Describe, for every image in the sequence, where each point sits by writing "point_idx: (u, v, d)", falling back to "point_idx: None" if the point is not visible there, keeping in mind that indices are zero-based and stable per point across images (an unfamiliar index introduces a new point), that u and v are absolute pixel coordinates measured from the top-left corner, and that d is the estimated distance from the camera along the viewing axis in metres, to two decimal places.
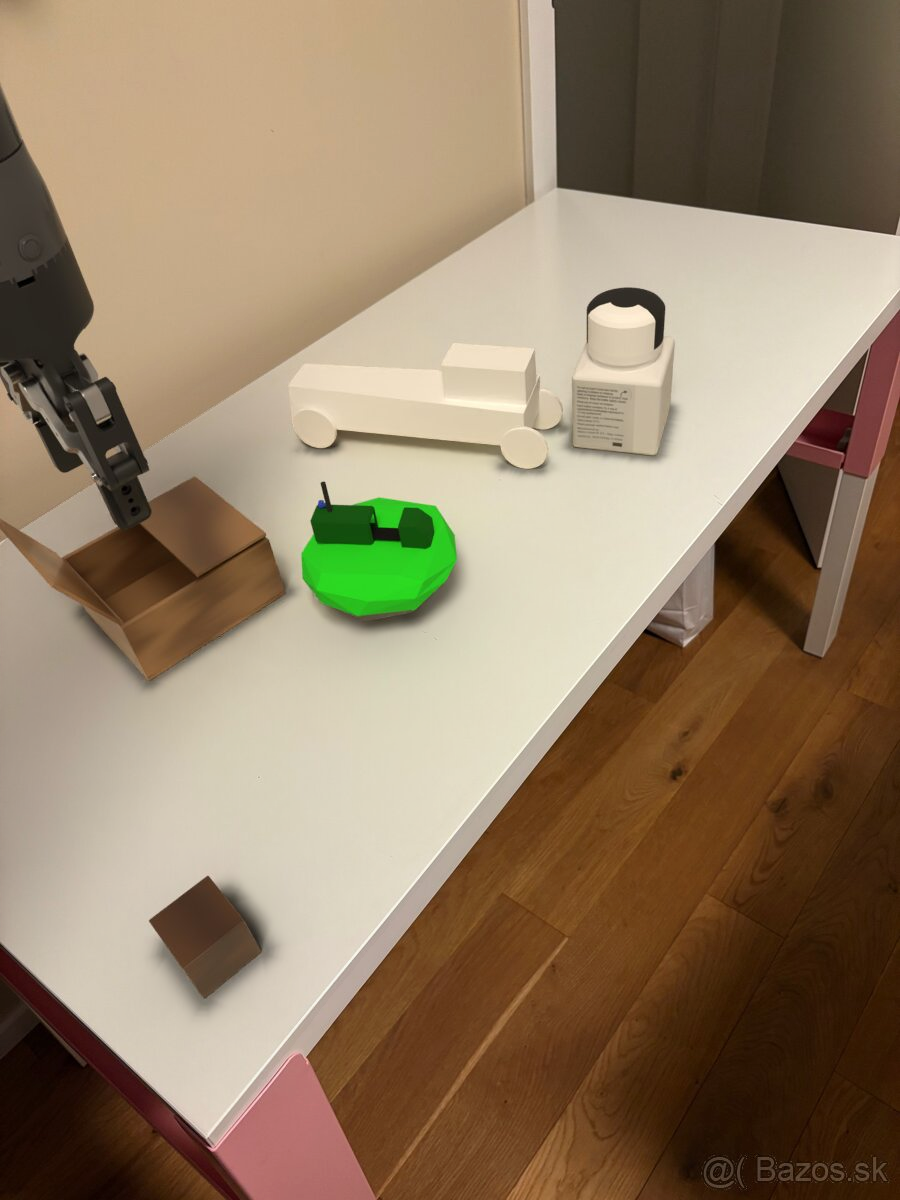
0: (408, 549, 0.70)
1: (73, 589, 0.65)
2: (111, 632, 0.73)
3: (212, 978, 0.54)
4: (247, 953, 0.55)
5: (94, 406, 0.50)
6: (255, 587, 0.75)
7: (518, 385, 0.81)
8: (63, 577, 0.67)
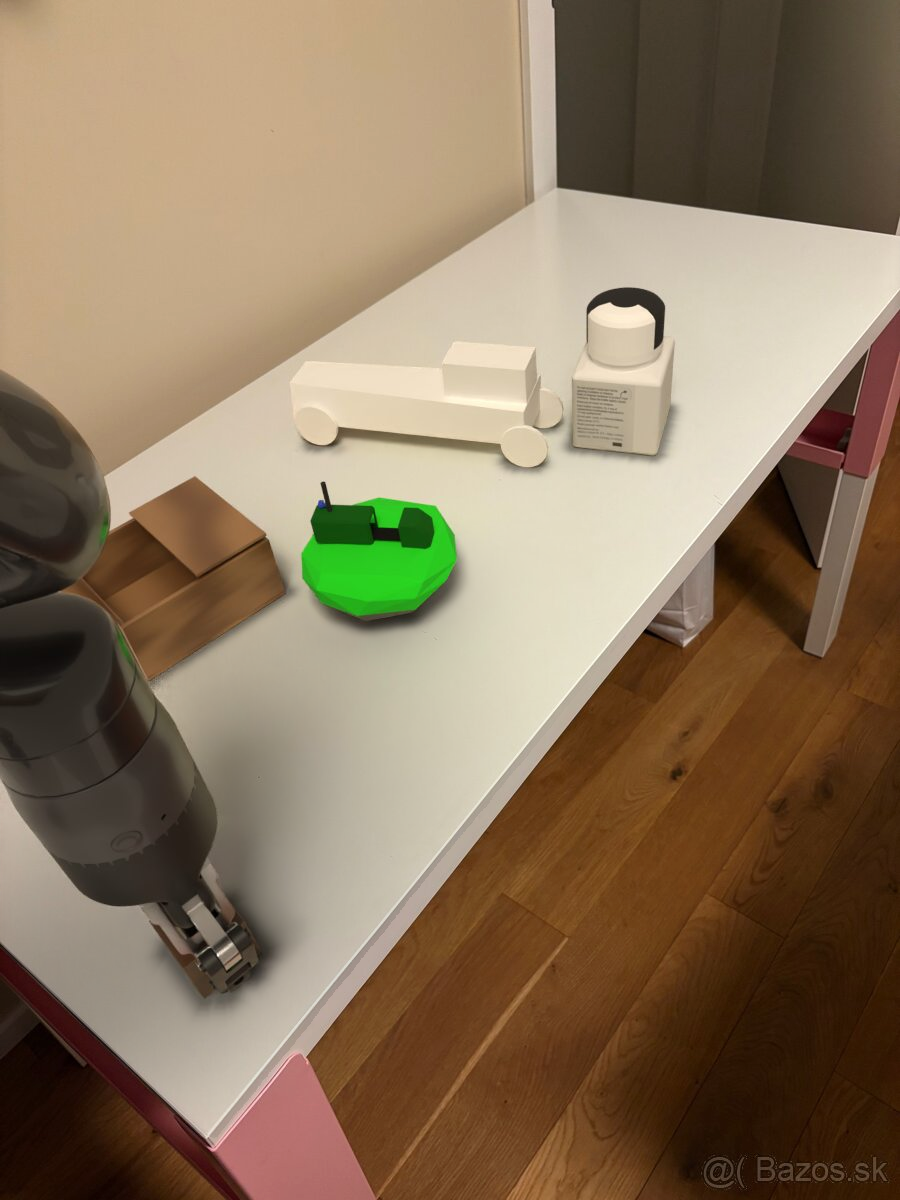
0: (408, 549, 0.70)
1: (73, 589, 0.65)
2: None
3: None
4: None
5: None
6: (255, 587, 0.75)
7: (519, 383, 0.81)
8: None
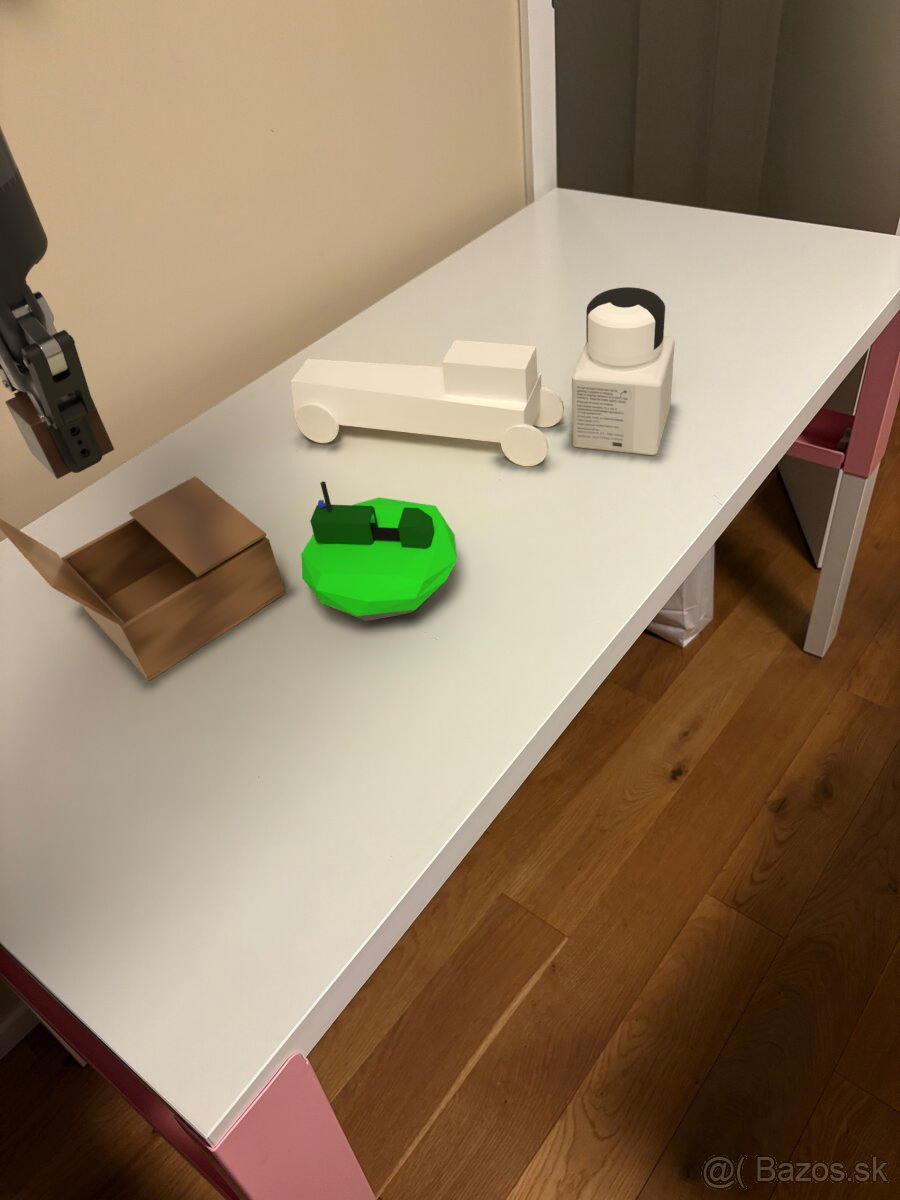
0: (408, 549, 0.70)
1: (73, 589, 0.65)
2: (111, 632, 0.73)
3: None
4: (99, 442, 0.59)
5: None
6: (255, 587, 0.75)
7: (519, 382, 0.81)
8: (63, 577, 0.67)
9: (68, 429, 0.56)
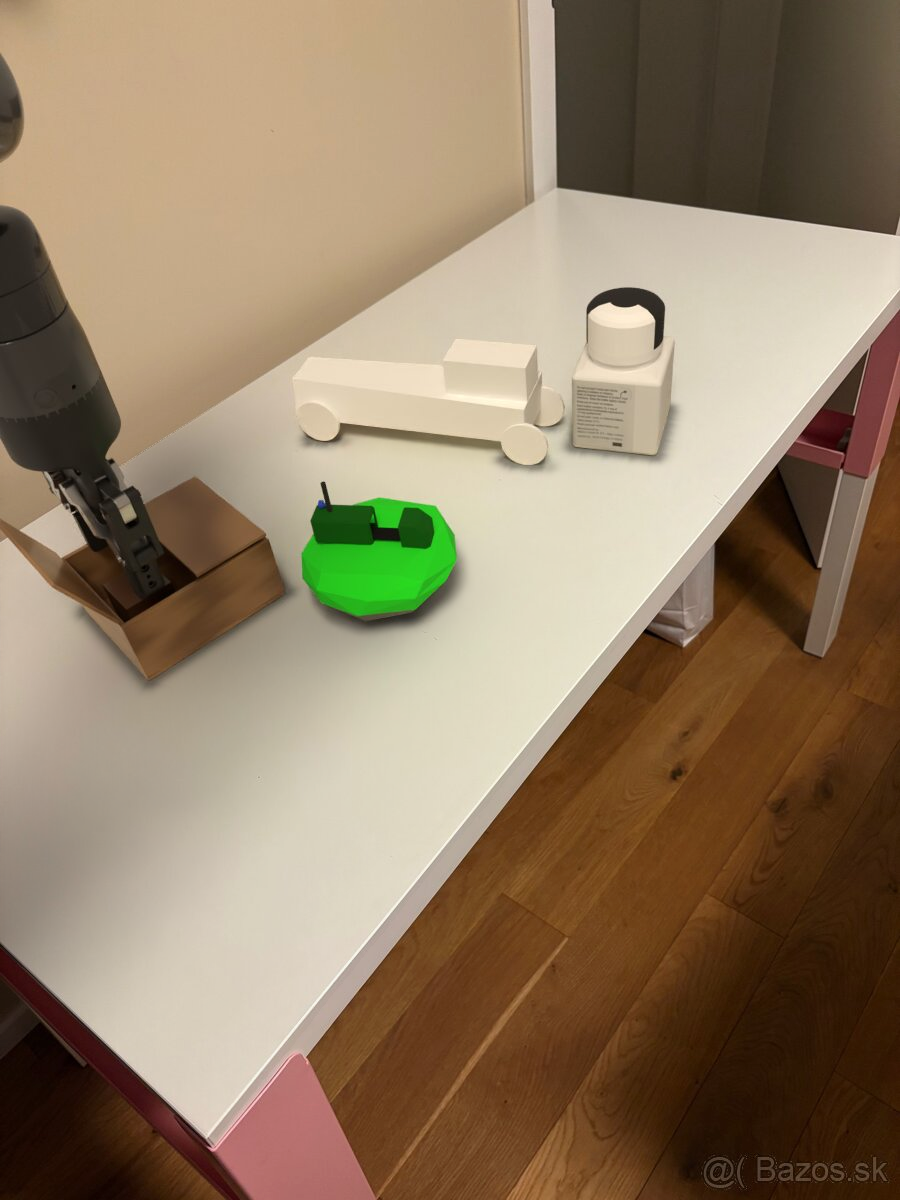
0: (408, 549, 0.70)
1: (73, 589, 0.65)
2: (111, 632, 0.73)
3: None
4: None
5: None
6: (255, 587, 0.75)
7: (519, 381, 0.82)
8: (63, 577, 0.67)
9: (140, 567, 0.67)
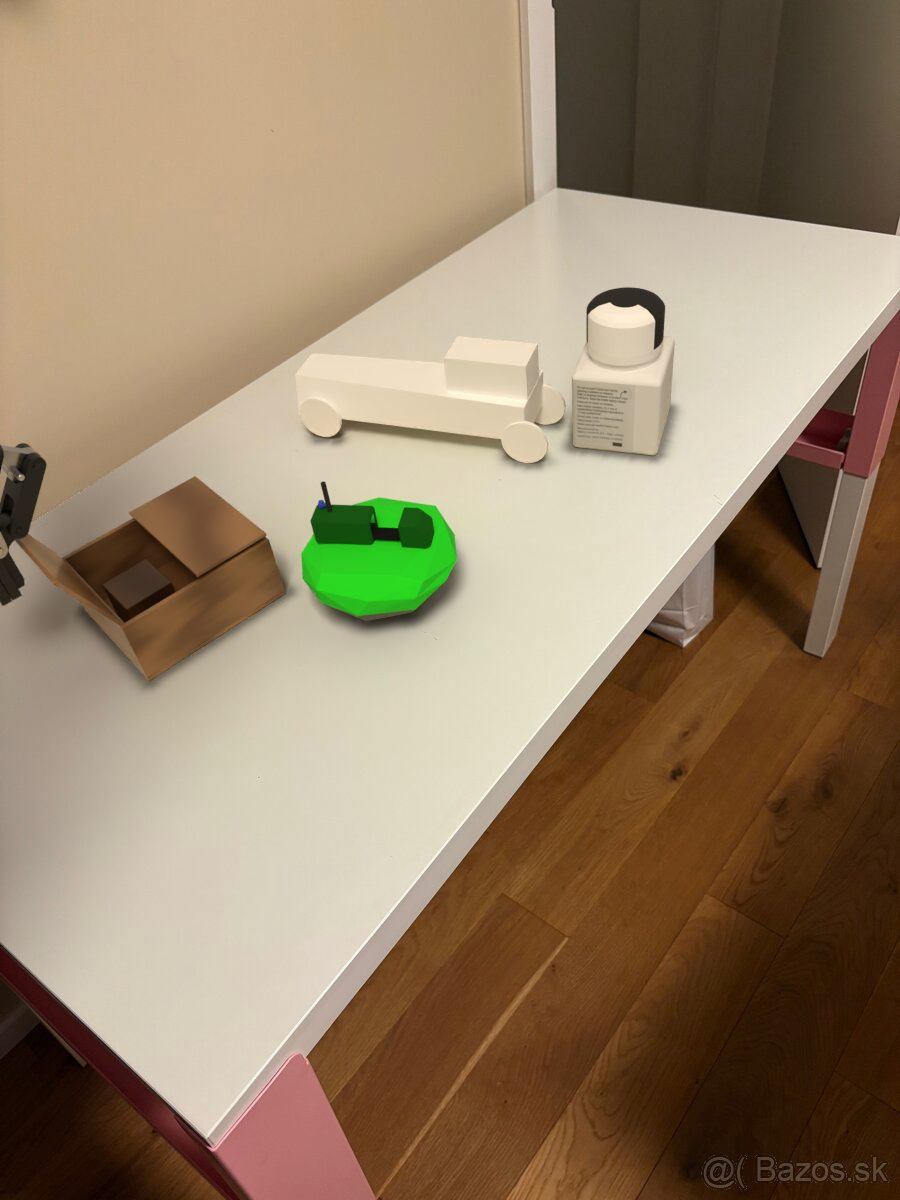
0: (408, 549, 0.70)
1: (74, 588, 0.65)
2: (111, 632, 0.73)
3: None
4: None
5: None
6: (255, 587, 0.75)
7: (519, 379, 0.82)
8: (64, 576, 0.67)
9: None
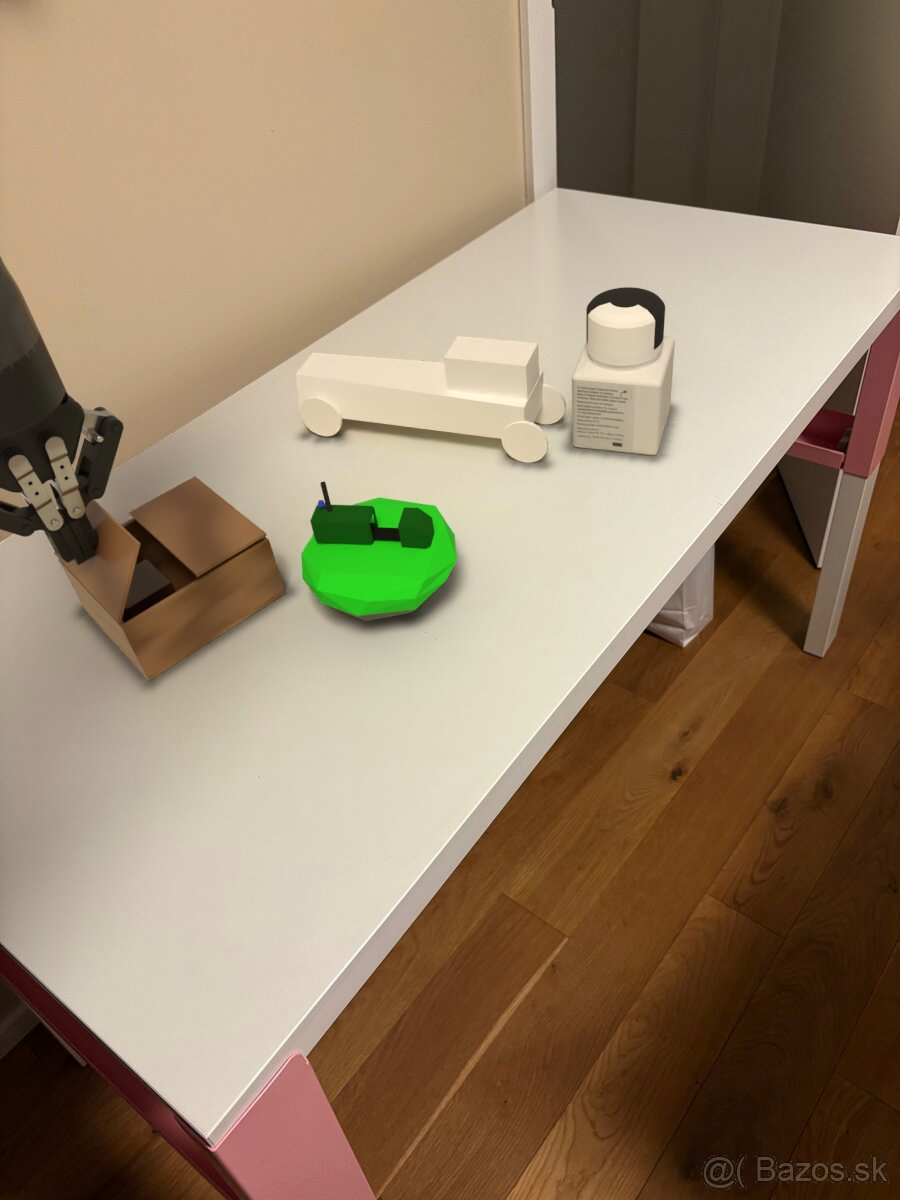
0: (408, 549, 0.70)
1: None
2: (111, 632, 0.73)
3: None
4: None
5: None
6: (255, 587, 0.75)
7: (520, 379, 0.82)
8: None
9: None
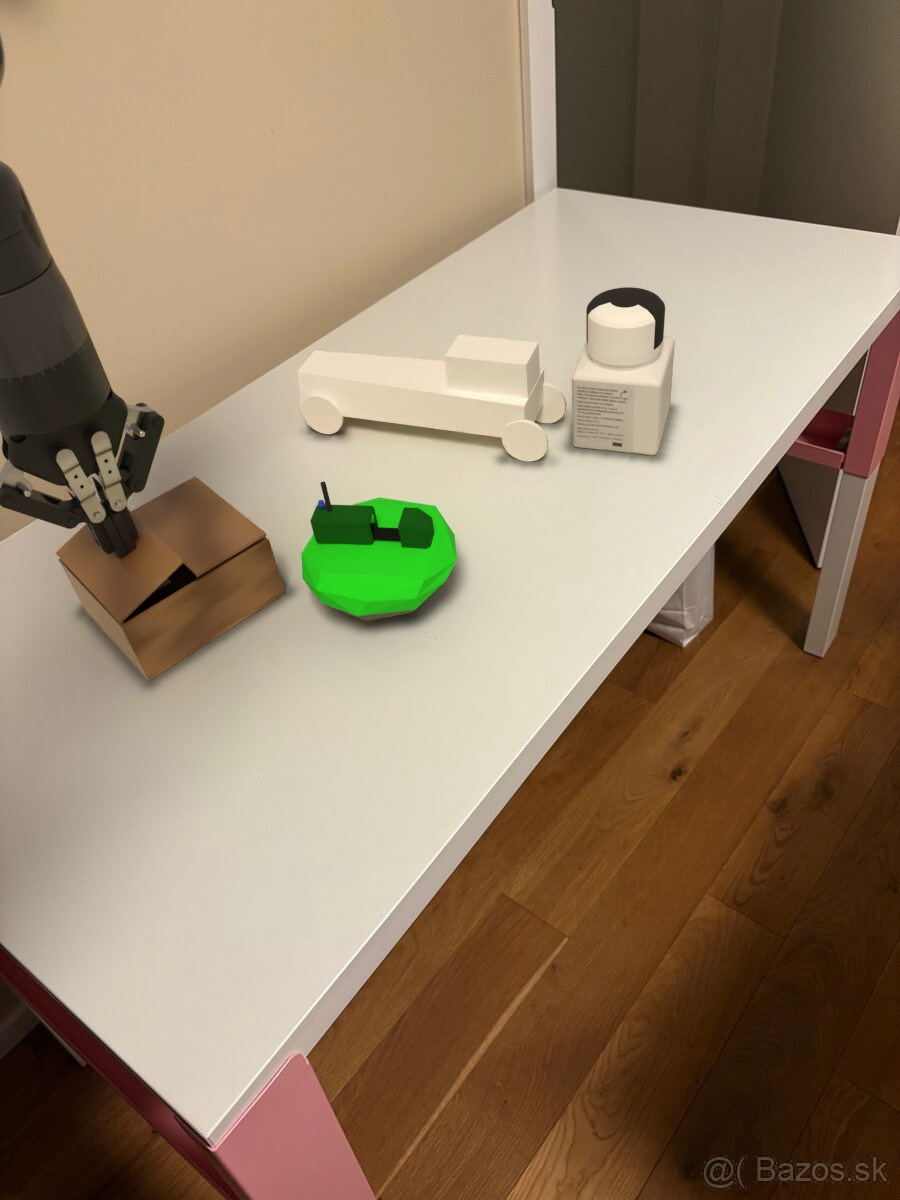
0: (408, 549, 0.70)
1: None
2: (111, 632, 0.73)
3: None
4: None
5: None
6: (255, 587, 0.75)
7: (520, 378, 0.82)
8: None
9: None
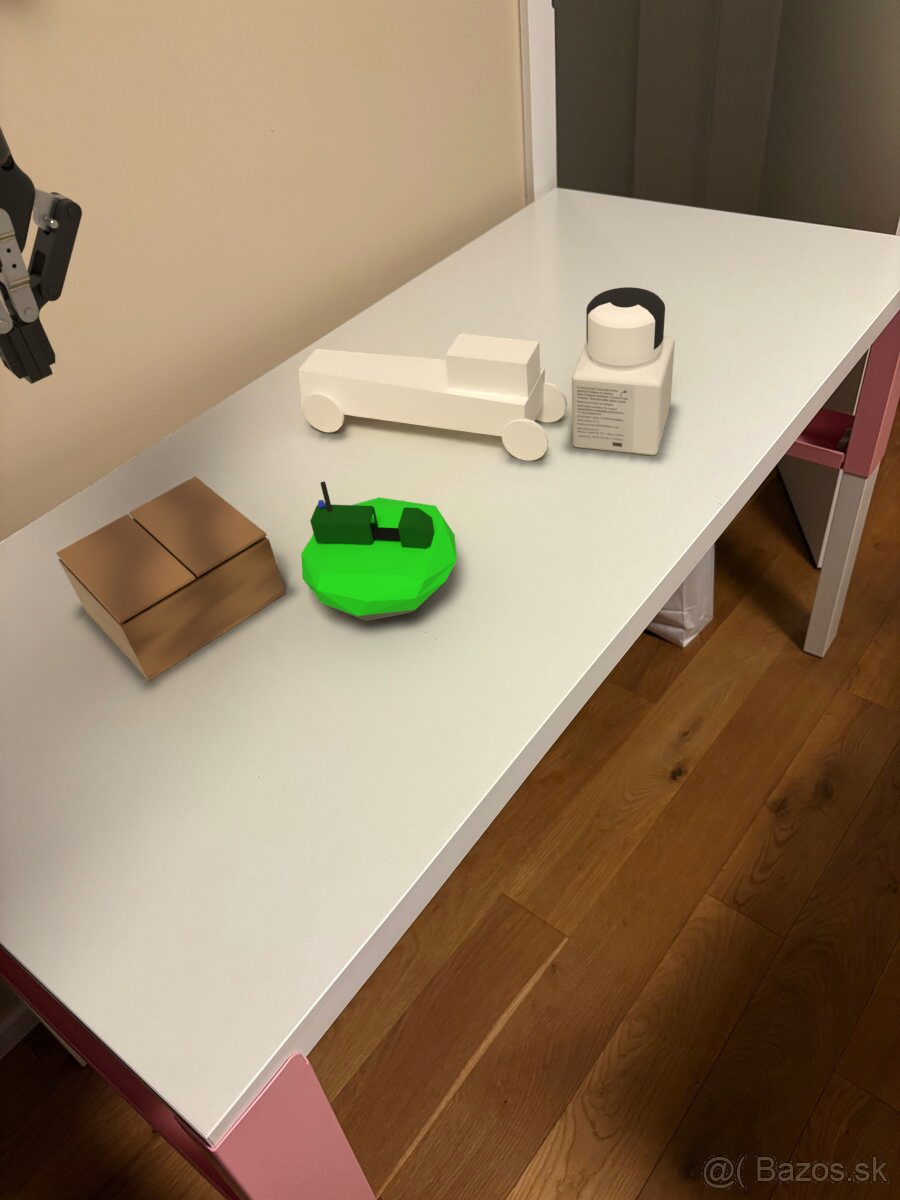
0: (408, 549, 0.70)
1: None
2: (111, 632, 0.73)
3: None
4: None
5: None
6: (255, 587, 0.75)
7: (520, 377, 0.82)
8: None
9: None
